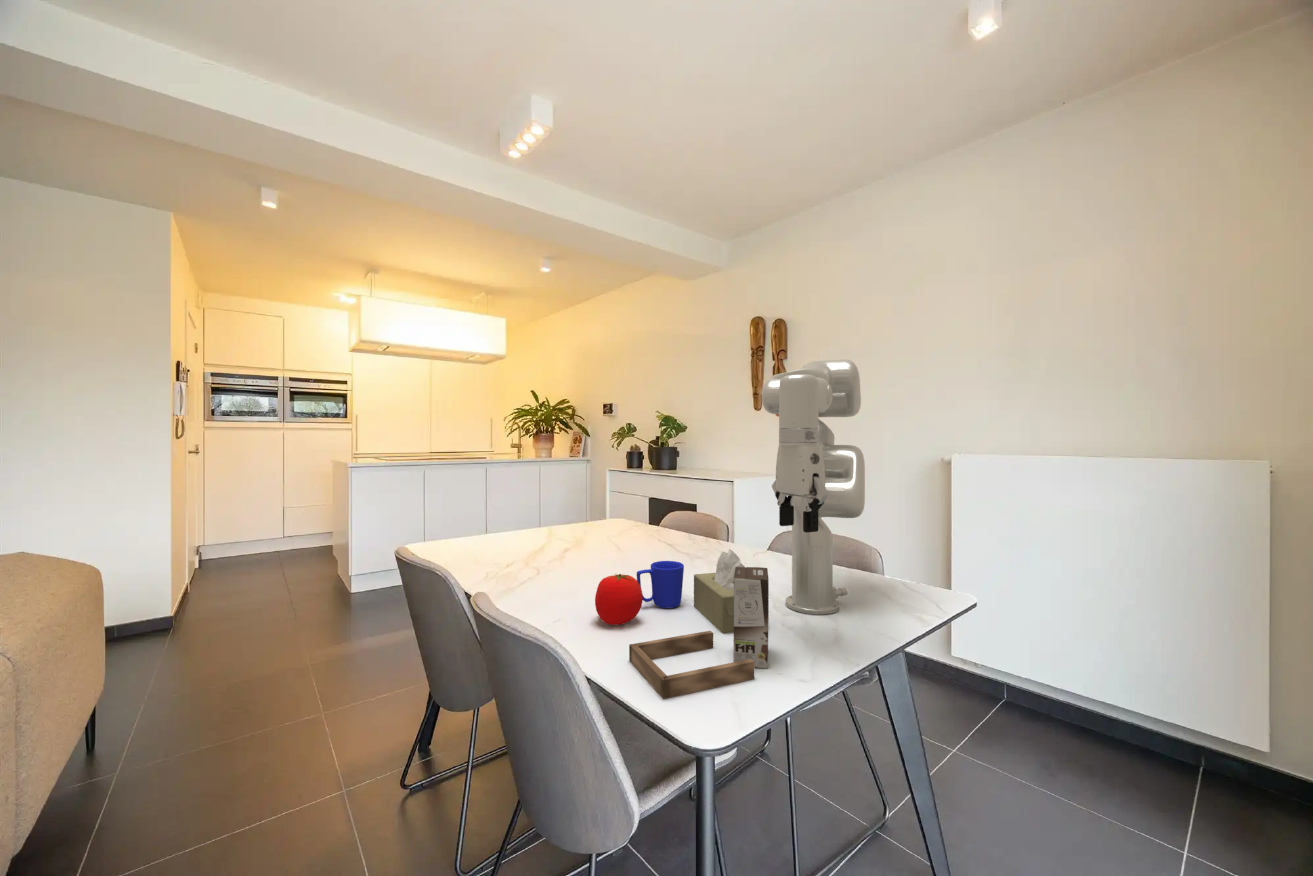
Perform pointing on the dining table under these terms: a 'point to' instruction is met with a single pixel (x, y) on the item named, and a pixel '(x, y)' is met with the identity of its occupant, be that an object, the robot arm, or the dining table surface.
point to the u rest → (692, 679)
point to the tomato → (618, 599)
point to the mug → (665, 583)
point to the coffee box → (751, 615)
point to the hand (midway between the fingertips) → (798, 527)
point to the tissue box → (718, 592)
